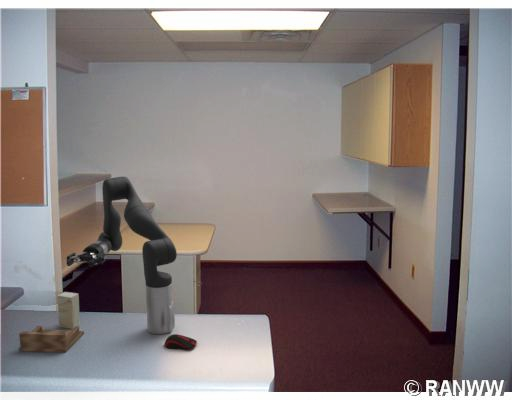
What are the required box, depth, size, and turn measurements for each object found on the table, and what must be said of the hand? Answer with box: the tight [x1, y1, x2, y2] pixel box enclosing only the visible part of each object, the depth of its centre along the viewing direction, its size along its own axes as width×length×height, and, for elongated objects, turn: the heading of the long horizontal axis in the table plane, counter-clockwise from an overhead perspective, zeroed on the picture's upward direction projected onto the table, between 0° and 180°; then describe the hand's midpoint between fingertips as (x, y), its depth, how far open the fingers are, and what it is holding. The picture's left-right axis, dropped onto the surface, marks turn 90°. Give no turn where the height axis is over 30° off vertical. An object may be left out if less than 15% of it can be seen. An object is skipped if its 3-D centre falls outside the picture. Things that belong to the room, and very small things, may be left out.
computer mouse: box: [163, 333, 198, 351], centre depth 168 cm, size 6×11×4 cm, turn 78°
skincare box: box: [57, 291, 81, 330], centre depth 182 cm, size 6×4×12 cm
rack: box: [18, 325, 85, 353], centre depth 170 cm, size 16×14×6 cm
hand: (78, 264), depth 191 cm, fingers open, 8 cm apart
